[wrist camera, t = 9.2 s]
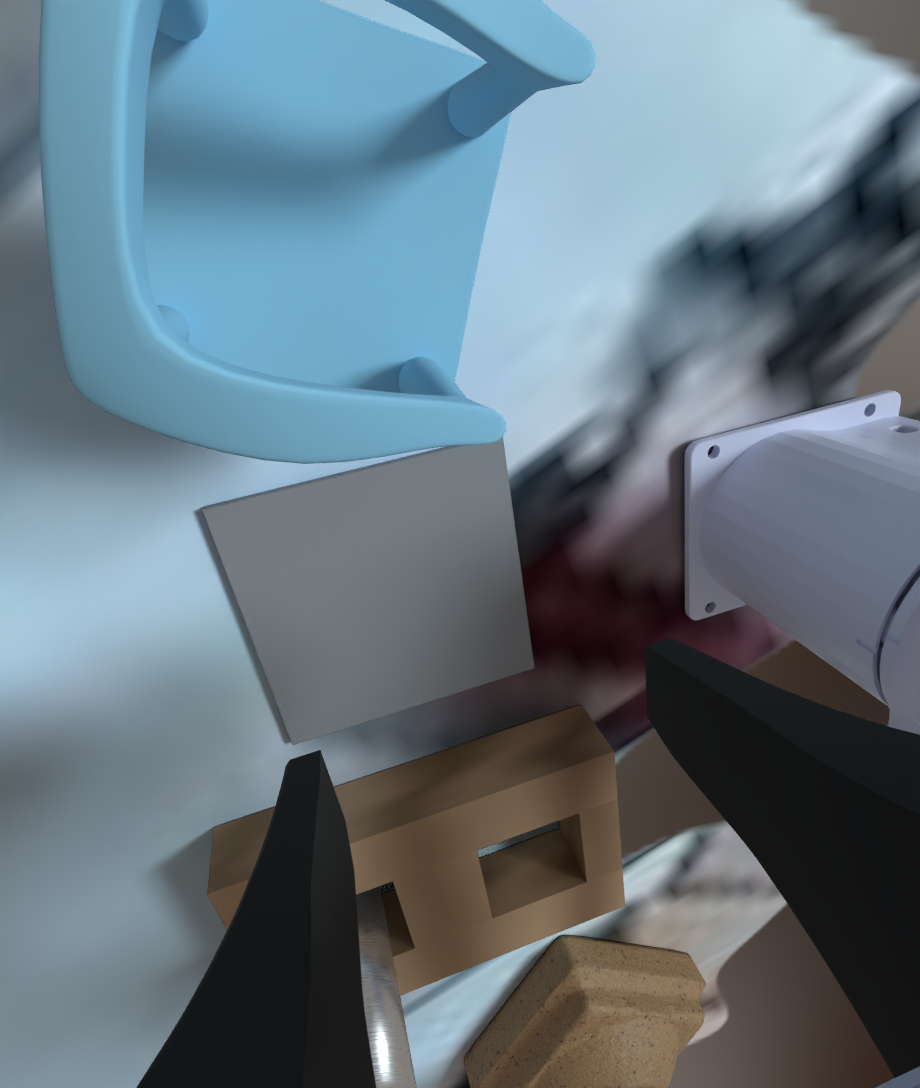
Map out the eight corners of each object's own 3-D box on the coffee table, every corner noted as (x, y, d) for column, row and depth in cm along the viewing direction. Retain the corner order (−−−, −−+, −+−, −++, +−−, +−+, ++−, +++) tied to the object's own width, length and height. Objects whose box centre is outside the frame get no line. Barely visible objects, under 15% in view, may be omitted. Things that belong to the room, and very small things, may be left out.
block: (581, 704, 28) (614, 751, 25) (595, 853, 32) (625, 905, 29) (213, 826, 25) (207, 894, 22) (285, 970, 29) (287, 1040, 27)
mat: (499, 433, 21) (502, 436, 21) (531, 664, 26) (534, 668, 26) (203, 507, 20) (202, 510, 19) (292, 740, 24) (292, 745, 24)
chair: (414, 397, 20) (577, 544, 10) (129, 347, 17) (-72, 478, 7) (466, 124, 18) (766, -76, 7) (138, 13, 15) (-168, -589, 4)
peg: (370, 836, 27) (412, 1068, 19) (379, 881, 29) (422, 1116, 21) (301, 856, 27) (315, 1104, 19) (314, 901, 28) (332, 1151, 20)
